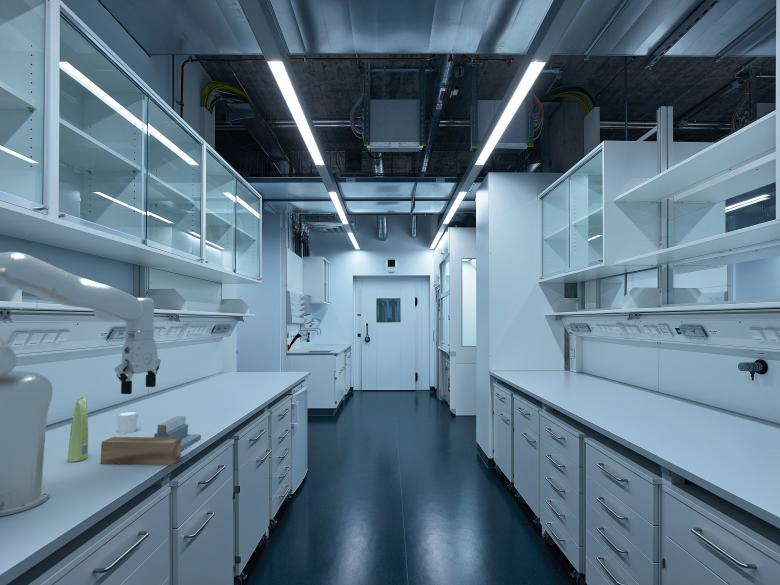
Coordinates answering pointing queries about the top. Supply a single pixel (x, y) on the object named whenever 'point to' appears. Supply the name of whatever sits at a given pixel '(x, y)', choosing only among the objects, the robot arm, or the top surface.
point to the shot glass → (127, 422)
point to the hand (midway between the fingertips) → (139, 390)
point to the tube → (79, 432)
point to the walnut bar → (140, 451)
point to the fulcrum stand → (177, 431)
